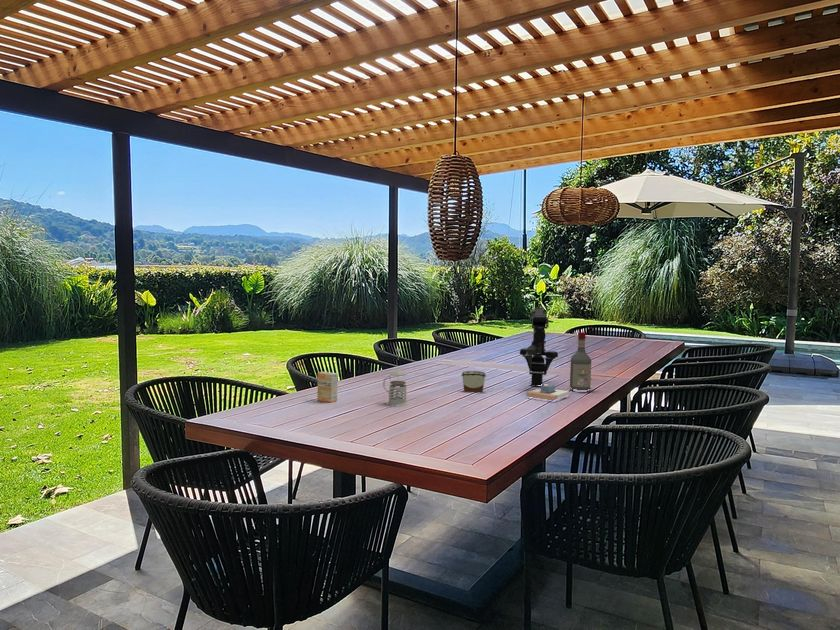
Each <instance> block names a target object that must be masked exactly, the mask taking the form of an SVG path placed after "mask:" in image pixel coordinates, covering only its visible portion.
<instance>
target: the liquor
mask: <svg viewBox="0 0 840 630" xmlns="http://www.w3.org/2000/svg"><path fill="white" fill-rule="evenodd" d="M577 334H578V335H577V339H578V341H577V351H575V353H574V354H573V355H572V356H571V358H570V366H569V367H570V369H569V371H570V372H569V373H570V375H569V376H570V377H569V388H570V387H571V388H572V389H577V390H588V389H590V390H591V384H592V383H591V381H592V379H591V378H592V358H591V357H590V355H589V354H588V353H587V352H586V334H587V333H586V332H585V331H584V332H580V331H579V332H578V333H577Z"/></svg>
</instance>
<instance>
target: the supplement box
mask: <svg viewBox="0 0 840 630" xmlns="http://www.w3.org/2000/svg"><path fill="white" fill-rule="evenodd" d="M338 375H339V373H337V372H331V371H330V372H329V371H325V370H324V371H318V372H317V397H316V399H317V401H319V402H324V403H325V402H326V403H330V404H331V403H334V402H335V401H336V402H337V401H338V381H339V380H338Z"/></svg>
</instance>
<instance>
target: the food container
mask: <svg viewBox="0 0 840 630" xmlns="http://www.w3.org/2000/svg"><path fill="white" fill-rule="evenodd" d="M460 376H461V377H462V384H463V393H470V392H483V393H484V385H485V378H487V374H486V372H484V371H480V370H465V371H463V372H462V373H461V375H460Z"/></svg>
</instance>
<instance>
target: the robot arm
mask: <svg viewBox="0 0 840 630" xmlns="http://www.w3.org/2000/svg"><path fill="white" fill-rule="evenodd" d="M549 320H550V319H549V318H548V316H547V312H545V309H544V308H543V307H534V309H533V311H532V312H530V323H531V329H533V331H532V333H533V334H532V335H533V338H532V341H531V345H529V346H528V347H524V348H521V349H520V350H519V355H521V356H522V357H524V359H525V361H526V363H527V366H528V369H529V373H528V374H529V375H531V381H530V382H531V383H530V384H531V385H541V384H543V382H544V381H543V377H544V376H546V375H547V372H548V370H549V368H550V366H551V364H552V362H553V361H554V360H555V359H556V358H559V353H558V351H554V350H549V351H548V350H547V351H546V349H545V345H546V343H547V341H546V330H545V329H548V328H549Z"/></svg>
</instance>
